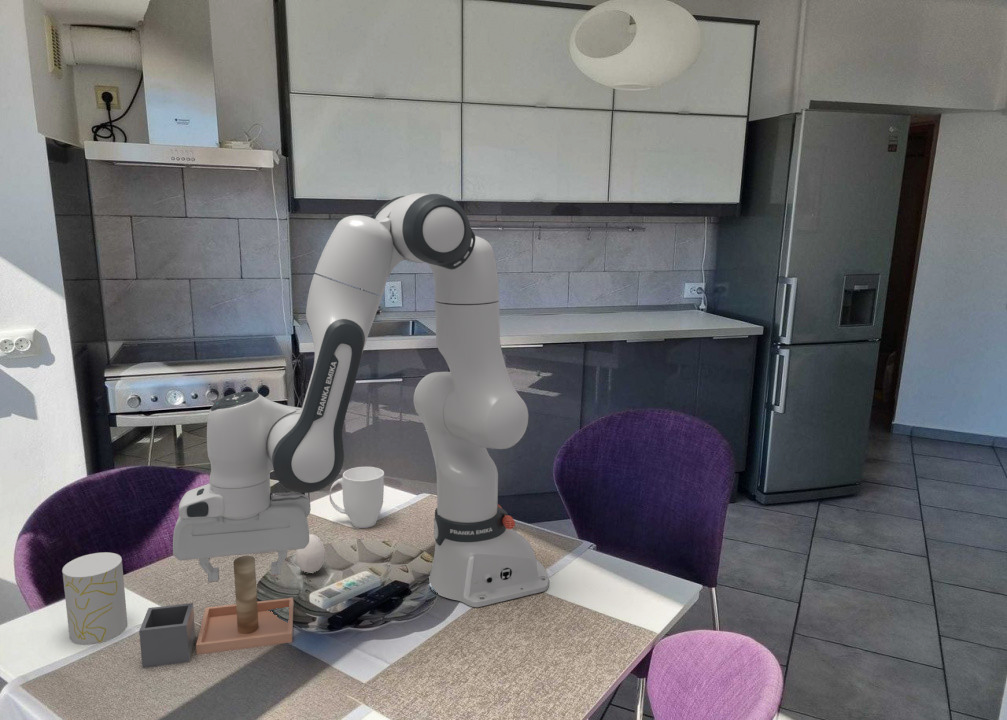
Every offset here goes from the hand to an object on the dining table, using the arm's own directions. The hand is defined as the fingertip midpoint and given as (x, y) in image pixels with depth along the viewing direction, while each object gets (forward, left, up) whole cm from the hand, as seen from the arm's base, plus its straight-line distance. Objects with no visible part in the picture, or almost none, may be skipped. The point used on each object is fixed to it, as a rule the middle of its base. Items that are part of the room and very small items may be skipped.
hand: (245, 577), depth 114 cm
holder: (+11, +4, -10) cm, 15 cm away
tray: (0, 0, -10) cm, 10 cm away
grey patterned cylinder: (+23, -5, -10) cm, 25 cm away
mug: (-20, -38, -10) cm, 44 cm away
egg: (-10, -18, -10) cm, 23 cm away
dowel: (0, 0, -9) cm, 9 cm away
